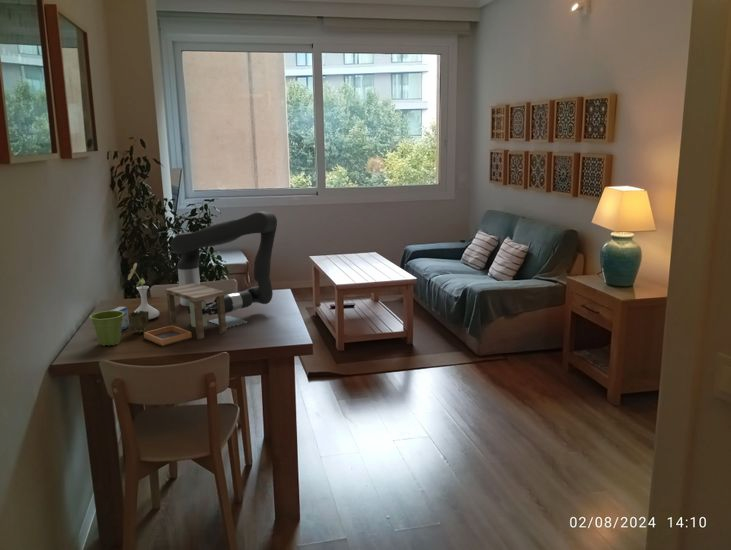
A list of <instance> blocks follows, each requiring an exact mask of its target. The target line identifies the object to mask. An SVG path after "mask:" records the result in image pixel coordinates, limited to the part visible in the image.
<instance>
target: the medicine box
mask: <svg viewBox="0 0 731 550" xmlns="http://www.w3.org/2000/svg"><path fill="white" fill-rule="evenodd" d="M109 311H122V312H124V315H123V318H122V324H121V330H123V329H125V328H127V327H128V328H130V327H129V326H130V319H129V311H128V307H127V306H118V307H115V308H112V309H111V310H109ZM128 328H127V329H128ZM125 330H126V329H125ZM123 331H124V330H123Z"/></svg>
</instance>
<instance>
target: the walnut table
mask: <svg viewBox="0 0 731 550" xmlns="http://www.w3.org/2000/svg"><path fill="white" fill-rule="evenodd" d="M164 291H165V292H164V293H165V294H166V300H167V301H166V302H167V303H166V304H167V313H168V322H169V326H171V325H173V326H176V327H178V325H177V324H178V323H177V322H178V321H177V314H176V304H175V303H176V302H175V297H178V298H180V297H181V298H184V299H187V300H190V301H194V312H195V323H196V327H195V333H196V339H197V340H199V339H201V340H203V338H204V339H205V330H204V326H203V317H202V305H201V300H204V301H206V300H208V299H212V298H216V297H217V309H218V314H217V318H218V322H219V325H218V331H219V333H220V332H221V334H224V333H223V332H225V333H227V332H226V331H227V328H226V318H225V316H226V313H225V305H224V295H226V294H225V293H226V292H225V290H221V289H217V288H214V287H211V286H206V285H204V284H200V285H199V284H196V283H192V284H187V285H182V286H179V285H178V286H174V287H173V286H172V287H168V288H165V289H164Z"/></svg>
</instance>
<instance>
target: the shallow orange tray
mask: <svg viewBox="0 0 731 550" xmlns="http://www.w3.org/2000/svg"><path fill="white" fill-rule="evenodd" d="M192 336H193V335H192V332H191V331H189V330H187V329H184V328H181V327H178V326H177V327H176V326H173V325H171V326H170V325H167V326H164V327H160V328H156V329H152V330H148V331H145V332H143V339H144V338H145V339H144V340H146V339H147V341H149V340H150V341H149V342H151V341H152V342H151V343H153V342H154V344H157V345H158V346H161V347H165V346H170V345H173V344H177V343H180V342H184V341H187V340H191V339H192V338H193V337H192ZM190 338H191V339H190ZM186 339H187V340H186ZM183 340H184V341H183ZM179 341H180V342H179ZM176 342H177V343H176Z"/></svg>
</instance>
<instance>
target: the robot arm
mask: <svg viewBox="0 0 731 550" xmlns="http://www.w3.org/2000/svg"><path fill="white" fill-rule="evenodd" d="M277 219H278V218H277V217H276V215H275V214H274V213H273V212H271V211H256V212H253V213H250V214H248V215H246V216H244V217H241V218H238V219H237V218H236V219H231V220H227V221H222V222H218V223H215V224H212V225H209V226H207V227H204V228H202V229H200V230H197V231H194V232H192V231H187V232H183V233H179V234H176V235H175V236H174V237H173V238H171V243H170V247H171V249H172V251H173V252H175V253H176V254H179V255H181V257H180V259H179V260H178V262H177V264H176V266H177V274H178V275H177V276H178V286H182V285H187V284H192V283H196V284H199V285H201V280H200V268H199V263H200V257H201V256H200V249H201V248H209V247H214V246H219V245H224V244H229V243H231V242H234V241H236V240H238V238H240V237H242V236H243V237H244V236H246V235H251V234H252V235H253V234H260V242H259V247H258V249H257V252H256V255H255V258H254V262H253V280H254V281H255V282H257V285H258V286H257V285H256V286H252V287H249V288H247V289H245V290H242V291H237V292H231V293H227V294H225V295H224V305H225V314H228V313H232V312H236V311H238V310H242V309H244V308H249V307H250V306H252V304H253V303H258V304H262V305H267V304H269V303H271V301H272V298H273V287H272V283H271V281H272V280H271V261H272V252H273V247H274V241H275V236H276V232H277V227H278V220H277ZM214 298H215V299H214V301H212V300H211V301H206V300H204V301H205V303H206V308H204V309H202V315H204V314H205V315H207V316H212V315H218V309H217V297H214ZM179 300H180V305H181V306H182V307H188V309H187V313H188V314H189V315H190V306H189V301H190V300H187V299H184V298H181V297H179Z"/></svg>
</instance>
